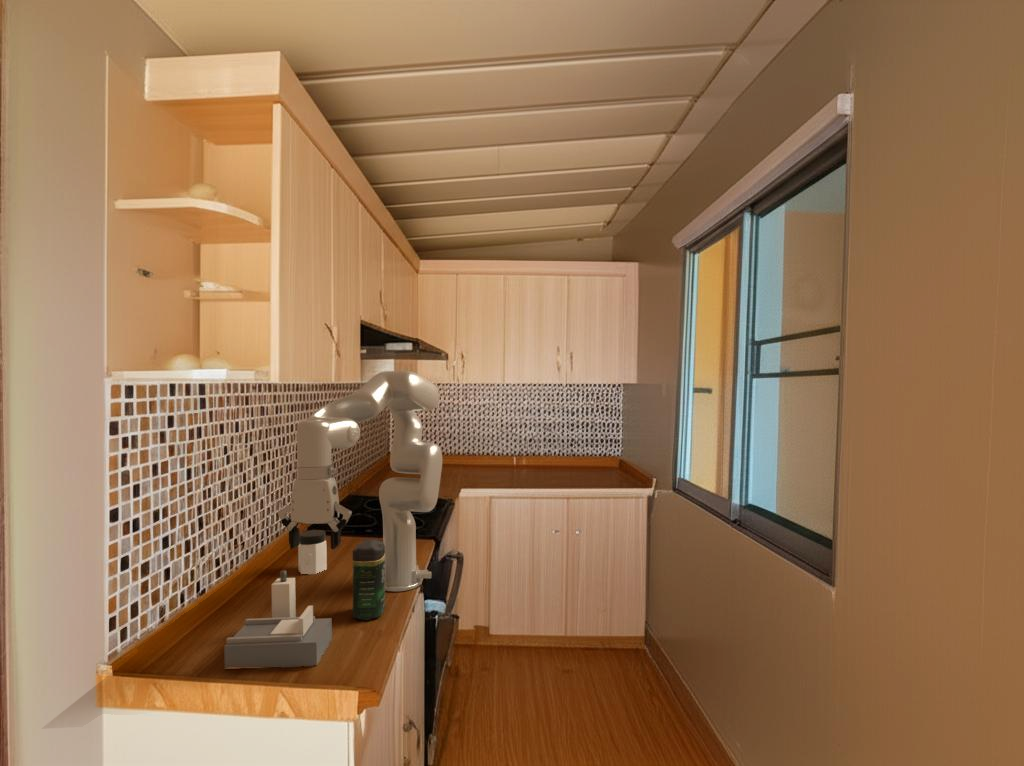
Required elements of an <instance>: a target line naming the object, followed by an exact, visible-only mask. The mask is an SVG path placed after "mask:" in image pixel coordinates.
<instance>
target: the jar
mask: <svg viewBox="0 0 1024 766" xmlns="http://www.w3.org/2000/svg"><path fill="white" fill-rule="evenodd" d="M327 548H328V547H327V540H326V531H325V530H322V529H311V530H305V531H302V532H299V545H298V546H297V555H298V558H297V560H298V563H297V564H298V571H299V573H300V574H301V575H302V574H308V575H317V573H318V574H320V573H322V571H323V572H325V571H327V570H328V564H327V563H328V560H327V559H328V558H327V557H328V554H327V552H328V551H327ZM324 570H325V571H324ZM319 572H320V573H319Z"/></svg>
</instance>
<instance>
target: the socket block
mask: <svg viewBox="0 0 1024 766" xmlns="http://www.w3.org/2000/svg"><path fill="white" fill-rule="evenodd" d="M299 617H300V616H296V617H283V618H272V617H265V618H264V617H261V618H246V619H245V620H244V625H243V626H242V627H241V628H240V630H238V631H237V633H235V635H233V636H231V637H227V638H226V644H225V645H224V647H223V649H224V669H225V668H228V667H281V668H299V667H301V666H304V667H317V666H318V665H317V664H319V663H320V661H321V660H322V658H321V657H323V656H324V654H325V653H326V651H325V650H327V649H326V648H328V647H329V646H330V644H331V642H332V640H333V629H332V628H333V624H332V621H333V620H332V619H333V618H331V617H329V618H327V617H325V618H316V616H314V615H313V623H312V625H311V626H310V627H309V629H308V630H307V632H306V633H305V635H304V636H302V635H278V636H270V634H271V632H272V631H273V630H274V629H275V628H276V626H277V625H278V624H279V623H280V622H281V620H291V619H299ZM330 641H331V642H330ZM329 643H330V644H329ZM322 655H323V656H322ZM318 662H319V663H318ZM314 665H315V666H314ZM316 665H317V666H316Z"/></svg>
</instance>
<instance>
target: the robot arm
mask: <svg viewBox="0 0 1024 766" xmlns="http://www.w3.org/2000/svg"><path fill="white" fill-rule="evenodd" d="M438 389H439V388H437V386H436V385H435V383H433V382H432V381H430V380H429V379H427V378H425V377H424V376H422V375H421V374H418V373H417V372H414V371H411V370H392V371H391V370H386V371H381V372H378V373H376V374H375V375H374V376H372V378H370V379H369V380H368V381H367V382H366V383H364V384H363V385H362V386H361V387H360V388H359V389H357V391H354V392H353V393H350V394H348V395H345V396H343V397H341V398H338V399H336V400H334V401H333V400H332V401H331V402H328V403H326V404H324V405H323V406H321V407H319V408H317V410H316V411H314V412H313V413H312V414H310V415H309V416H308V417H307V418H306V419H305V420H301V421H300V422H298V423H297V426H296V457H297V458H296V468H297V470H296V471H297V472H296V479H294V482H293V487H292V490H291V491H292V492H291V498H290V504H289V505H287V506H285V507H284V508H282V509H280V510H278V511H277V515H278V518H279V519H280V520H281V521H280V522H281V524H282V525H283V526H284V527H285V528H286V531H287V532H288V544H289V549H292V550H293V549H295V548H298V545H299V534H300V528H298V526H299V525H300V524H311V525H312V524H314V525H315V524H316V525H317V524H319V525H320V524H321V525H322V524H327V525H328V526H329V527H330V528H331V530H332V531H331V532H330V549H331V550H335V549H337V548H339V546H340V544H341V541H342V540H341V536H342V535H341V531H342V529H343V527H345V525H346V524H348V522H349V520H350V519H351V516H352V513H353V512H352V510H350V509H349V508H346V507H344V506H343V505H341V504H340V500H339V490H338V484H337V481H336V477H332V476H333V475H337V473H338V469H337V468H336V467H335V468H334V467H333V464H332V449H350V448H351V447H353V446H354V445H356V444H357V443H358V442H359V439H360V436H361V428H360V426H359V424H358V423H363V422H366V421H370V420H372V419H374V418H376V417H377V416H378V415H380V414H381V412H382V411H384V409H385V408H386V407H387V408H388V410H389V412H390V414H391V416H392V419H393V422H394V431H393V437H392V438H393V439H392V443H391V444H392V445H391V450H390V451H391V452H390V455H389V456H390V458H389V463H390V464H389V465H390V469H391V470H392V471H393V472H395V473H398V474H399V473H400V474H406V475H407V474H409V475H420V478H413V477H398V476H397V477H390V478H387V479H386V480H384V481H383V482H382V483H381V484H380V486H379V490H378V499H379V504H380V508H381V514H382V532H383V533H382V540H383V541H382V542H383V543H384V545H385V592H386V591H387V592H406V591H409V590H414V589H417V587H419V586H420V585H421V584H422V582H423V581H422V580H423V579H426V580H427V579H432V571H429V569H421V568H419V565H418V564H417V538H416V537H417V536H416V535H417V533H416V530H417V526H416V525H417V524H416V521H415V518H414V515H413V513H411V512H418V513H427V512H431V511H432V510H434V509H435V508H436V505H437V503H438V498H439V491H440V485H441V480H442V479H441V478H442V476H441V475H442V470H443V453H442V450H441V448H440V445H437V444H436V443H433V442H430V441H429V442H428V441H425V442H423V441H422V439H423V428H424V427H423V424H422V421H421V419H420V418H419V416H418V414H417V413H416V412H430V411H433V410H435V409H436V408H437V407H438V405H439V402H440V392H439V390H438ZM288 513H290V517H288ZM340 514H341V515H342V518H341V519H340V520H339V519H338V518H340Z"/></svg>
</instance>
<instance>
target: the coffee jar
mask: <svg viewBox="0 0 1024 766" xmlns="http://www.w3.org/2000/svg"><path fill="white" fill-rule="evenodd" d="M385 609H386V591H385V545H384V543H383V541H381V540H380V539H364V540H363V541H361V542H359V543H358V544H356V546H355V547H354V548H353V550H352V617H353V618H354V619H358V620H361V621H370V620H372V619H376V618H380V617H381V616H382V615H383V613H384V612H385Z"/></svg>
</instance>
